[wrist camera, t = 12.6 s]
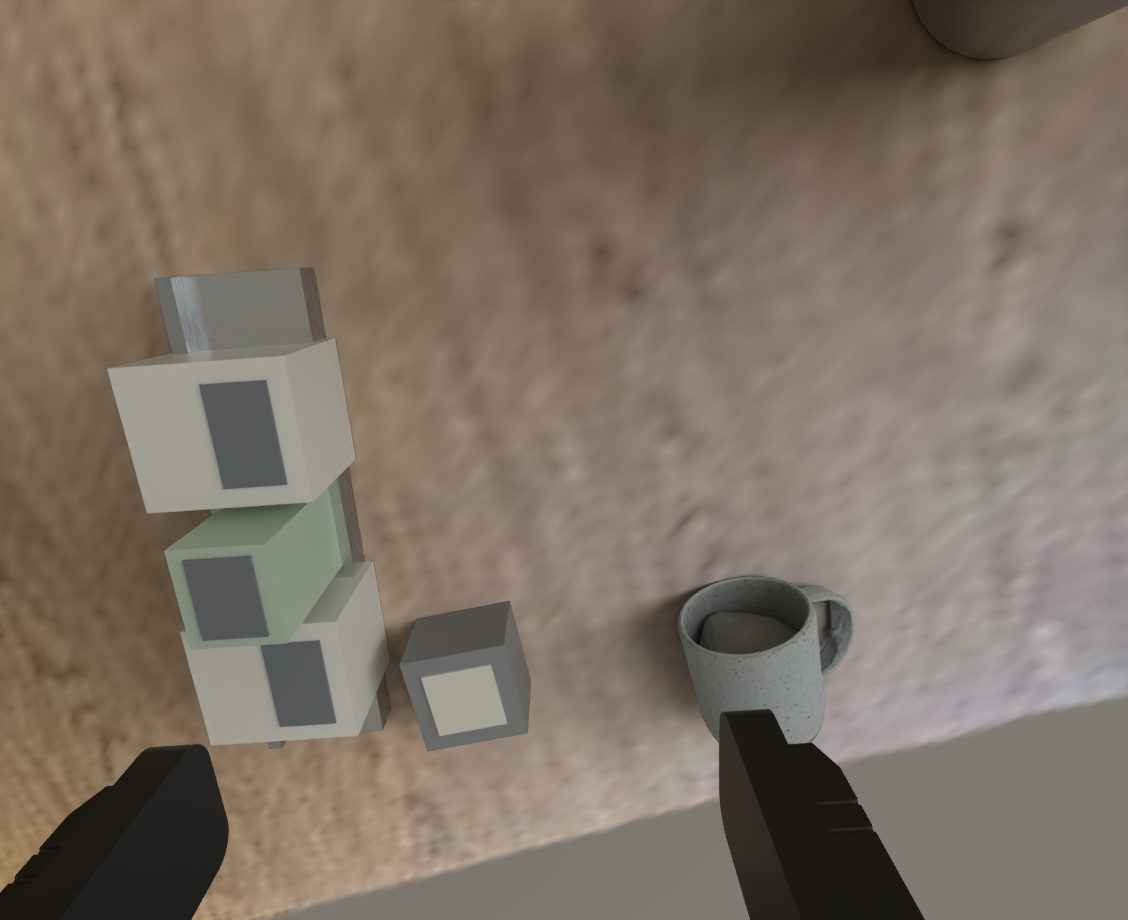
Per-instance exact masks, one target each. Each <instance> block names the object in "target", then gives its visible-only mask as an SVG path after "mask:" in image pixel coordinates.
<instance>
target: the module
mask: <svg viewBox="0 0 1128 920" xmlns="http://www.w3.org/2000/svg"><path fill="white" fill-rule="evenodd" d="M164 552H165V556H166V560H167V563H168V567H169V571H170V575H171V578H172V582H173V586H174V589H175V593H176V597H177V601H178V604H179V608H180V612H181V615H182V619H183V623H184V626H185V630H186V634H187V638H188V641H189V645H190V649H191V650H192V649H208V648H223V647H239V646H254V645H270V644H286V643H288V642H289V641H290V639H291V638H292V636H293V635H294V634H295V632H296V631H297V629H298V628H299V626H300V625H301V624H302V622H303V621H304V619H305V618H306V616H307V615H308V614H309V612H310V611H311V609H312V608H313V606H314V605H315V604H316V602H317V601H318V599H319V598H320V596H321V595H322V594H323V592H324V591H325V589H326V588H327V586H328V585H329V584H330V582H331V581H332V579H333V578H334V576H335V575H336V574H337V572H338V571H339V569H340V568H341V566H342V562H341V556H340V551H339V546H338V540H337V535H336V529H335V524H334V518H333V513H332V507H331V502H330V496H329V491H328V487H327V488H326V489H325V490H324V491H323V492H322V493H321V494H320V495H319V496H318V497H317V498H316V499H315V500H314V501H313V502H307V503H293V504H278V505H264V506H249V507H235V508H221V509H220V510H218V511H217V512H215V513H214V514H213V515H211V516H210V517H209V518H207V519H206V520H205V521H203V522H202V523H201V524H199V525H198V526H197V527H195V528H194V529H193V530H191V531H190V532H189V533H187V534H186V535H185V536H183V537H182V538H180V539H179V540H178V541H176V542H175V543H174V544H172V545H171V546H170V547H168V548H167V549H166V550H164Z"/></svg>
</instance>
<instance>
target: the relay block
mask: <svg viewBox="0 0 1128 920" xmlns="http://www.w3.org/2000/svg"><path fill="white" fill-rule="evenodd" d="M399 666H400V669H401V672H402V675H403V678H404V681H405V684H406V687H407V690H408V693H409V696H410V699H411V702H412V705H413V708H414V711H415V714H416V717H417V720H418V723H419V726H420V729H421V732H422V735H423V738H424V742H425V745H426V748H427V751H432V750H438V749H443V748H449V747H454V746H460V745H465V744H471V743H476V742H482V741H487V740H493V739H498V738H504V737H509V736H515V735H520V734H526V733H528V723H529V706H530V689H531V679H530V675H529V672H528V668H527V664H526V660H525V656H524V653H523V649H522V645H521V641H520V637H519V633H518V630H517V626H516V622H515V618H514V614H513V611H512V607H511V603H510V601H506V602H501V603H495V604H490V605H485V606H480V607H475V608H469V609H464V610H459V611H454V612H449V613H443V614H438V615H433V616H428V617H423V618H417V620H416V623H415V625H414V628H413V630H412V633H411V636H410V638H409V641H408V643H407V646H406V649H405V651H404V654H403V656H402V659H401V662H400V664H399Z"/></svg>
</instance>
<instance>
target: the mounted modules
mask: <svg viewBox="0 0 1128 920" xmlns="http://www.w3.org/2000/svg"><path fill="white" fill-rule="evenodd" d="M107 370H108V374H109V378H110V381H111V385H112V388H113V392H114V396H115V399H116V403H117V407H118V410H119V414H120V417H121V421H122V425H123V428H124V432H125V435H126V439H127V443H128V446H129V450H130V454H131V457H132V461H133V464H134V468H135V472H136V475H137V479H138V483H139V486H140V490H141V493H142V497H143V501H144V504H145V508H146V512H147V513H162V512H177V511H191V510H206V509H220V508H235V507H249V506H264V505H278V504H293V503H307V502H313V501H314V500H315V499H316V498H317V497H318V496H319V495H320V494H321V493H322V492H323V491H324V490H325V489H326V488H327V487H328V486H329V485H330V484H331V483H332V482H333V481H334V480H335V479H336V478H337V477H338V476H339V475H340V474H341V473H342V472H343V471H344V470H345V469H346V468H347V467H348V466H349V465H350V464H351V463H352V462H353V461H354V460H355V459H356V458H355V452H354V446H353V441H352V435H351V429H350V423H349V417H348V411H347V405H346V400H345V394H344V388H343V382H342V376H341V370H340V364H339V359H338V353H337V347H336V341H335V338H326V339H323V340H320V341H317V342H314V343H305V344H291V345H277V346H263V347H249V348H235V349H221V350H207V351H197V352H193V353H189V354H178V355H173V354H172V353H168V354H164V355H160V356H156V357H152V358H148V359H144V360H140V361H136V362H132V363H127V364H123V365H119V366H115V367H111V368H107ZM180 635H181V638H182V642H183V645H184V649H185V653H186V656H187V660H188V664H189V667H190V671H191V674H192V678H193V682H194V685H195V689H196V692H197V696H198V700H199V703H200V707H201V711H202V714H203V718H204V721H205V725H206V729H207V732H208V736H209V740H210V743H211V745H227V744H242V743H257V742H273V741H288V740H304V739H319V738H334V737H350V736H358V735H359V733H360V731H361V728H362V726H363V723H364V721H365V719H366V716H367V714H368V711H369V709H370V707H371V704H372V702H373V699H374V697H375V695H376V692H377V690H378V687H379V685H380V683H381V680H382V678H383V675H384V673H385V671H386V668H387V666H388V663H389V661H390V657H389V651H388V646H387V640H386V634H385V628H384V622H383V616H382V610H381V605H380V599H379V593H378V587H377V581H376V575H375V569H374V564H373V561H365V562H364V564H363V565H362V567H361V568H360V570H359V571H358V573H357V575H356V576H355V577H342V578H333V579H332V581H331V582H330V584H329V585H328V586H327V588H326V589H325V591H324V592H323V594H322V595H321V596H320V598H319V599H318V601H317V602H316V604H315V605H314V606H313V608H312V609H311V611H310V612H309V614H308V615H307V616H306V618H305V619H304V621H303V622H302V624H301V625H300V626H299V628H298V629H297V631H296V632H295V634H294V635H293V636H292V638H291V639H290V641H289V642H288V643H286V644H270V645H254V646H239V647H223V648H208V649H192V650H191V649H190V645H189V641H188V638H187V634H186V630H185V628H183V629H182V630H181V631H180Z"/></svg>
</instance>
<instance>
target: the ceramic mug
mask: <svg viewBox="0 0 1128 920" xmlns="http://www.w3.org/2000/svg"><path fill="white" fill-rule="evenodd" d="M825 600H828V601H829V602H830V603H829V604H830V613H831V629H830V636H829V639H828V641H827V643H826V644H825V646H824V648H823V649H822V651H821V652H820V648H819V639H818V626H817V617H816V611H815V607H814V605H813V603H814V602H820V601H825ZM678 631H679V635H680V639H681V642H682V645H683V649H684V653H685V657H686V660H687V664H688V668H689V672H690V675H691V678H692V682H693V685H694V689H695V693H696V697H697V701H698V704H699V708H700V712H701V714H702V717H703V719H704V721H705V723H706V725H707V727H708V729H709V731H710V732H711V734H712V735H713V737H714V738H715V739H716V740H717V741H718V742H719V720H720V714H721V712H727V711H743V710H758V709H770V710H771V711H772V712H773V714H774V715H775V717H776V719H777V721H778V724H779V726H780V728H781V730H782V732H783V734H784V736H785V738H786V740H787V742H788V744H798V743H811V742H812V741H813V740H814V739H815V737H816V736H817V734H818V733H819V731H820V729H821V726H822V722H823V718H824V707H825V692H824V683H823V679H824V678H826V677H827V676H828V675H829V674H831V673H832V672H833V671H834V670H835V669H836V668H837V667H838V666H839V665H840V664H841V663H842V661H843V660H844V658H845V656H846V654H847V652H848V650H849V647H850V645H851V642H852V637H853V631H854V617H853V612H852V608H851V606H850V604H849V603H848V601H847V600H846V599H845V598H843V597H842V596H840V595H838V594H836V593H834V592H832V591H830V590H828V589H826V588H823V587H821V586H807V587H802V588H799V587H797V586H795V585H793V584H792V583H788V582H786V581H784V580H779V579H776V578H770V577H761V576H750V577H739V578H733V579H728V580H724V581H720V582H717V583H714V584H711V585H709V586H707V587H705V588H703V589H701V590H699V591H698V592H697V593H695V594H694V595H693V596H691V597H690V598H689V599H688V600H687V601H686V603H685V604H684V605H683V607H682V609H681V611H680V614H679V618H678Z"/></svg>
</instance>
